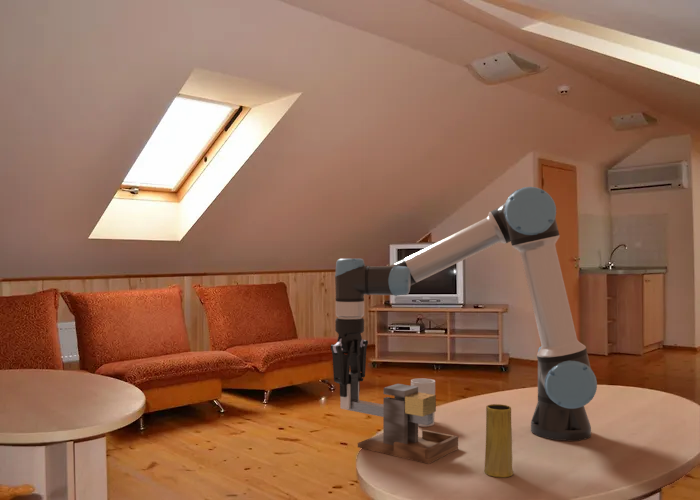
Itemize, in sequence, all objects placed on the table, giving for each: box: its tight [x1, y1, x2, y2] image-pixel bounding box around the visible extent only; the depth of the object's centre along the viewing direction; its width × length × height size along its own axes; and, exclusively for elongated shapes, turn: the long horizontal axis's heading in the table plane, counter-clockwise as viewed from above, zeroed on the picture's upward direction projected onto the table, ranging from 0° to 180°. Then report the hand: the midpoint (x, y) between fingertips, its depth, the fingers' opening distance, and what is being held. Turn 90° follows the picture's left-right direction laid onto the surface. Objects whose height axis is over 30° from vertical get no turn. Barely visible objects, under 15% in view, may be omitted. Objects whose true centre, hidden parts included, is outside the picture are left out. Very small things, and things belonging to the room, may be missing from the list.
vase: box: [484, 403, 514, 479], centre depth 137 cm, size 6×6×14 cm
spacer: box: [405, 392, 437, 416], centre depth 153 cm, size 5×6×4 cm
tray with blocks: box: [357, 383, 459, 465], centre depth 155 cm, size 20×14×14 cm
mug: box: [410, 378, 436, 428], centre depth 179 cm, size 10×7×12 cm, turn 161°
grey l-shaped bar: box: [348, 371, 433, 425], centre depth 159 cm, size 26×3×9 cm, turn 53°
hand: (349, 407), depth 166 cm, fingers closed on grey l-shaped bar, 3 cm apart
